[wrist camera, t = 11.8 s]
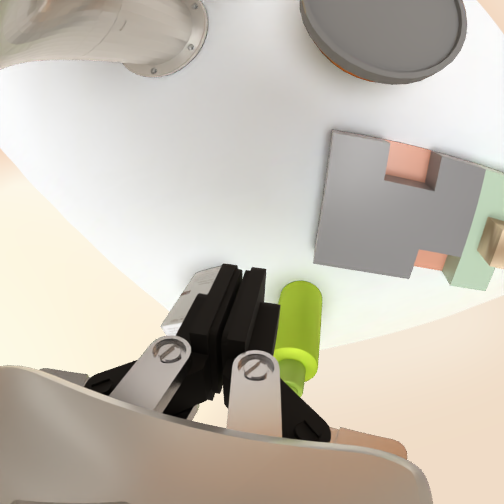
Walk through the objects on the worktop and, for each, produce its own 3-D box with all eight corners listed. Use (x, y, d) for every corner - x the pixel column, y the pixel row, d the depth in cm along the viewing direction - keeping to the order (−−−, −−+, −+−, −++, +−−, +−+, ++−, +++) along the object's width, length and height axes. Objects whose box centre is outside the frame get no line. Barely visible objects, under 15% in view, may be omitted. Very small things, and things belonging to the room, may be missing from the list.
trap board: (332, 129, 33) (333, 132, 30) (507, 174, 30) (522, 182, 26) (314, 248, 40) (313, 263, 37) (475, 275, 37) (485, 291, 33)
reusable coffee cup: (337, -26, 24) (342, -90, 11) (433, 31, 25) (491, 0, 12) (287, 54, 30) (263, 23, 17) (384, 111, 31) (424, 118, 18)
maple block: (487, 216, 29) (502, 229, 26) (513, 223, 28) (528, 237, 25) (476, 250, 31) (489, 266, 28) (502, 255, 31) (515, 271, 27)
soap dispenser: (279, 318, 46) (250, 434, 29) (280, 278, 43) (249, 396, 26) (319, 322, 45) (307, 441, 28) (324, 282, 42) (316, 404, 25)
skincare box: (231, 262, 44) (201, 316, 33) (243, 289, 45) (219, 347, 35) (193, 272, 46) (157, 324, 35) (206, 297, 47) (175, 352, 37)
